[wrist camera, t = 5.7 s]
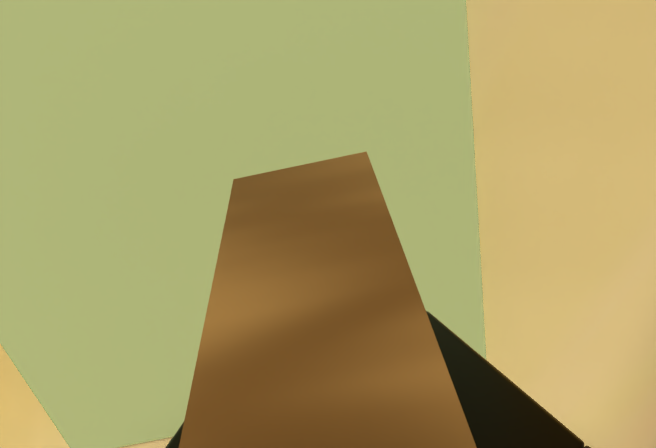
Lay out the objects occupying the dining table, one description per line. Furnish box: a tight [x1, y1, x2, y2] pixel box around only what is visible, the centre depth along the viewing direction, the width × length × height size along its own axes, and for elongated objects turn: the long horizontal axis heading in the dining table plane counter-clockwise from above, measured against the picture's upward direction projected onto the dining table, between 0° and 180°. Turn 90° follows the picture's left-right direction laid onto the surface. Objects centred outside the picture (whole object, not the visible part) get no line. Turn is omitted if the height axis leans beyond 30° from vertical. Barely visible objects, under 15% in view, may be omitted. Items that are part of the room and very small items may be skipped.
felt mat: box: [0, 0, 486, 448], centre depth 15 cm, size 15×17×1 cm
